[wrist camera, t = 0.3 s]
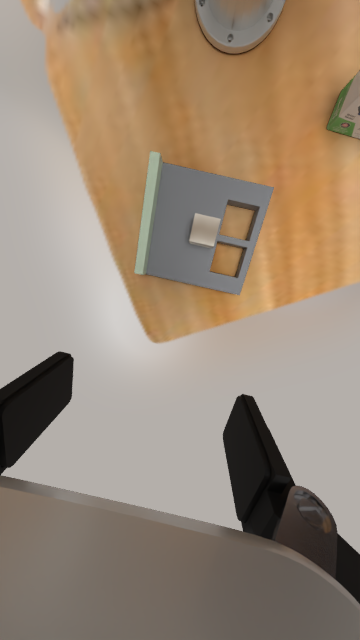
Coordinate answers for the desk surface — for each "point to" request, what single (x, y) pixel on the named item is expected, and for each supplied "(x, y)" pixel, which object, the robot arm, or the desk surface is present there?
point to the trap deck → (177, 220)
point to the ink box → (347, 110)
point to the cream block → (204, 230)
